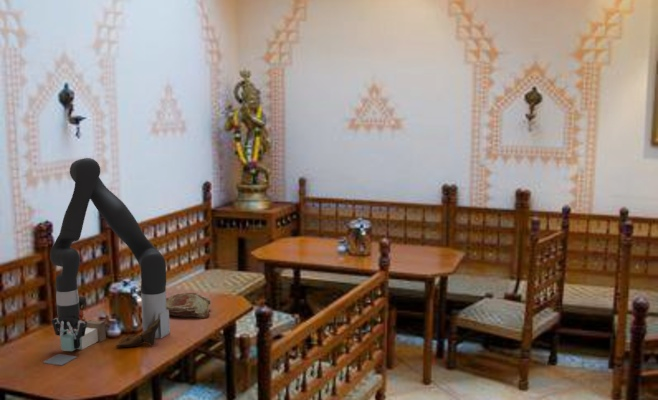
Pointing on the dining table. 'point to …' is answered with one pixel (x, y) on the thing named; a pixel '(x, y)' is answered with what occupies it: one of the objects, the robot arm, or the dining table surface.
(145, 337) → the dark brown curved piece
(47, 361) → the pad
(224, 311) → the dining table surface
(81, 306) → the figurine
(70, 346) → the pale teal block
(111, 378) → the dining table surface
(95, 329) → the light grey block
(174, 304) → the stone
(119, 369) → the dining table surface
